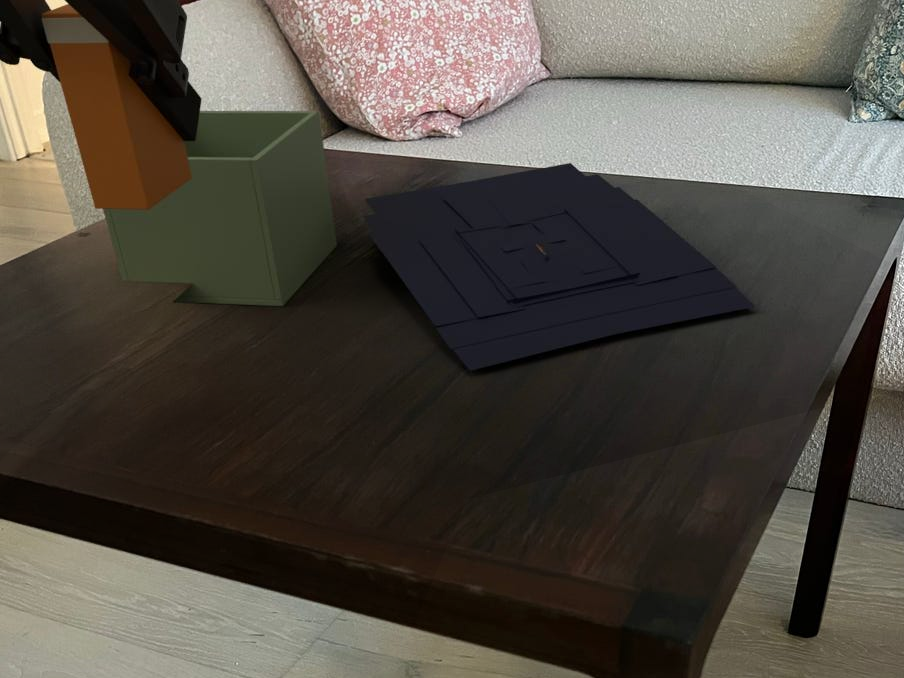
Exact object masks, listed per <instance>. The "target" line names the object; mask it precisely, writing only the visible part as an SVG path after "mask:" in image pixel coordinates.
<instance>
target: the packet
mask: <svg viewBox="0 0 904 678" xmlns="http://www.w3.org/2000/svg"><path fill="white" fill-rule="evenodd" d="M42 17H43V18H42V23H43V26H44V30H45V34H46V37H47V41H48V43H50V46H51V50H52V54H53V57H54V61H55V65H56V68H57V72H58V75H59V79H60V82H59V84H60V86H61V89H62V93H63V97H64V100H65V104H66V107H67V111H68V116H69V118H70V122H71V125H72V129H73V133H74V136H75V140H76V143H77V147H78V151H79V155H80V158H81V162H82V166H83V169H84V173H85V176H86V180H87V183H88V188H89V191H90V195H91V198H92V203H93V206H94V209H100V210H103V209H132V210H149V209H151V208H152V207H153V206H155V205H156V204H157V203H159V202H160V201H162V200H163V199H164V198H166V197H167V196H168V195H170V194H171V193H172V192H174V191H175V190H177V189H178V188H179V187H181V186H182V185H183V184H185V183H186V182H187V181H189V180H190V179H192V175H191V170H190V166H189V161H188V156H187V152H186V147H185V142H184V140H183V139H182V138H181V137H180V136H179V134H178V133H177V132H176V131H175V130H174V128H173V127H172V126H171V125H170V124H169V122H168V121H167V120H166V119H165V118H164V116H163V115H162V114H161V113H160V112H159V111H158V109H157V108H156V107H155V106H154V105H153V103H152V102H151V101H150V100H149V99H148V97H147V96H146V95H145V94H144V93H143V92H142V90H141V89H140V88H139V87H138V86H137V84H136V83H135V82H134V81H133V80H132V78H131V77H130V76H129V71H130V64H131V61H130V60H129V59H128V58H126V57H125V56H124V55H123V54H122V53H121V52H120V51H119V50H118V49H117V48H116V47H115V46H113V45H112V44H111V43H110V42H109V41H108V40H107V39H106V38H105V37H104V36H103V35H102V34H100V33H99V32H98V31H97V30H96V29H95V28H94V27H93V26H92V25H91V24H90V23H89V22H87V21H86V20H85V19H84V18H83V17H82V16H81V15H80V14H79V13H78V12H77V11H76V10H74V9H73V8H72V7H71V6H70V5H69V4H68V3H67V4H64V5H62V6H59V7H56V8H54V9H51V11H48V12H45V13H43V14H42Z"/></svg>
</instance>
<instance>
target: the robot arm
mask: <svg viewBox="0 0 904 678" xmlns="http://www.w3.org/2000/svg"><path fill="white" fill-rule="evenodd" d="M64 2H66V3H67V4H69V5H70V6H71V7H72V8H73V9H74V10H76V11H77V12H78V13H79V14H80V15H81V16H82V17H83V18H84V19H85V20H86V21H87V22H89V23H90V24H91V25H92V26H93V27H94V28H95V29H96V30H97V31H98V32H99V33H100V34H102V35H103V36H104V37H105V38H106V39H107V40H108V41H109V42H110V43H111V44H112V45H113V46H115V47H116V48H117V49H118V50H119V51H120V52H121V53H122V54H123V55H124V56H125V57H126V58H128V59H129V60H130V61H131V64H130V71H129V76H130V77H131V78H132V80H133V81H134V82H135V83H136V84H137V86H138V87H139V88H140V89H141V90H142V92H143V93H144V94H145V95H146V96H147V97H148V99H149V100H150V101H151V102H152V103H153V105H154V106H155V107H156V108H157V109H158V111H159V112H160V113H161V114H162V115H163V116H164V118H165V119H166V120H167V121H168V122H169V124H170V125H171V126H172V127H173V128H174V130H175V131H176V132H177V133H178V134H179V136H180V137H181V138H182V139H183V140H184V141H196V134H197V127H198V121H199V114H200V111H201V106H202V96H200V94H199V93H198V92H197V90H196V89H195V88H194V86H193V85H192V84H191V82H190V81H189V77H190V71H189V68H188V66H187V65H186V64H185V63H184V61H183V60H182V55H183V50H184V49H183V47H184V41H185V34H186V28H187V21H188V14H187V12H186V11H185V9H184V8H183V6H182V5H181V3H180V1H179V0H64ZM51 10H52V8H51V7H50V6H49V4H48V2H47V0H0V61H1V63H5V65H9V66H17V65H19V64H20V60H21V59H25V60H29V61H30V62H31V64H32V65H33V66H34V67H35V68H37V69H39V70H41V71H43V72H47V73H50V74H51V75H52V77H54V78H55V80H56V81H58V82H59V83H60V79H59V75H58V72H57V68H56V65H55V61H54V57H53V54H52V50H51V46H50V43H48V41H47V37H46V34H45V30H44V26H43V23H42V18H43V17H42V14H43V13H45V12H48V11H51Z"/></svg>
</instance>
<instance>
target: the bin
mask: <svg viewBox="0 0 904 678" xmlns="http://www.w3.org/2000/svg"><path fill="white" fill-rule="evenodd" d="M322 134H323V133H322V126H321V119H320V111H318V110H200V114H199V121H198V127H197V134H196V141H184V142H185V147H186V152H187V156H188V161H189V166H190V170H191V175H192V179H190V180H189V181H187V182H186V183H185V184H183V185H182V186H181V187H179V188H178V189H177V190H175V191H174V192H172V193H171V194H170V195H168V196H167V197H166V198H164V199H163V200H162V201H160V202H159V203H157V204H156V205H155V206H153V207H152V208H151V209H149V210H132V209H102V210H103V214H104V218H105V222H106V225H107V229H108V232H109V237H110V240H111V243H112V244H111V245H112V247H113V251H114V254H115V258H116V262H117V265H118V269H119V272H120V276H121V280H122V281H123V282H142V283H143V282H144V283H145V282H146V283H170V284H171V283H173V284H174V283H175V284H190V285H189V286H188V287H187V288H186V289H185V290H184V291H183V292H182V293H181V294H180V295H179V296H177V297H176V298H175V299H174V300H173V301H172V302H173V303H193V304H194V303H195V304H198V303H199V304H216V305H217V304H221V305H240V306H241V305H243V306H246V305H247V306H264V307H265V306H267V307H284V306H285V305H286V303H287V302H288V301H289V300H290V299H291V298H292V296H294V295H295V293H296V292H297V291H298V290H299V289H300V288H301V286H303V284H305V282H306V281H307V280H308V279H309V277H311V275H312V274H313V273H314V272H315V271H316V270H317V268H319V266H321V264H322V263H323V262H324V261H325V260H326V259H327V257H328V256H329V255H330V254H331V253H332V252H333V251H334V250H335V248H337V246H338V242H337V241H338V240H337V235H336V228H335V227H336V226H335V219H334V214H333V213H334V212H333V206H332V199H331V197H332V196H331V191H330V184H329V176H328V169H327V161H326V154H325V147H324V141H323V135H322Z"/></svg>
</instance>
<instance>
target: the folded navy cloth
mask: <svg viewBox="0 0 904 678" xmlns="http://www.w3.org/2000/svg"><path fill="white" fill-rule="evenodd" d="M364 200H365V202H366V203H367V205H368V206H369V207H370V209H371V211H372V212H373V214H367V215H362V218H363V219H364V221H365V222H366V224H367V225H368V227H369V228H370V229H371V231H372V232H368V234H369V236H370V237H371V238H372V240H373V242H374V243H375V245H376V246H377V248H378V249H379V251H380V253H382V254H383V256H384V257H385V258H386V260H387V262H389V264H390V265H391V267H392V268H393V270H394V271H395V273H397V275H398V276H399V278H400V279H401V281H402V282H403V283H404V285H405V286H406V288H407V289H408V290H409V291H410V293H411V295H412V296H413V297H414V298H415V300H416V301H417V303H418V304H419V305H420V307H421V308H422V310H423V311H424V312H425V314H426V315H427V316H428V318H429V320H430V321H431V322H432V326H434V328H435V329H436V331H437V332H438V333H439V335H440V336H441V338H442V339H443V340H444V342H445V344H446V345H447V346H448V348H449V349H450V350H452V351H453V352H454V354H456V355H457V357H458V358H459V359H460V361H462V363H463V364H464V365H465V367H466V368H467V369H468V370H469V371H475V370H478V369H482V368H486V367H490V366H495V365H498V364H503V363H507V362H510V361H514V360H518V359H522V358H526V357H527V358H528V357H530V356H535V355H537V354H542V353H546V352H550V351H554V350H557V349H562V348H566V347H570V346H574V345H578V344H582V343H586V342H590V341H593V340H598V339H601V338H605V337H609V336H613V335H617V334H623V333H628V332H633V331H639V330H643V329H649V328H653V327H654V328H655V327H659V326H663V325H669V324H674V323H679V322H685V321H689V320H694V319H695V320H696V319H700V318H705V317H710V316H715V315H720V314H726V313H732V312H735V311H740V310H747V309H751V308H755V307H756V306H755V305H754V303H752V301H750V300H749V298H747V297H746V296H745V295H744V294H743V293H742V292H741V291H740V290H739V289H737V288H736V287H737V286H736V285H735V284H734V282H732V281H731V280H730V279H729V278H728V276H726V275H725V274H724V273H723V272H722V271H721V270H719V269H718V268H717V266H716V265H715V264H714V263H713V262H712V261H710V260H709V259H708V258H707V257H705V255H704V254H702V253H701V252H700V251H699V250H698V249H696V248H695V247H694V246H693V245H691V244H690V243H689V242H688V241H687V240H686V239H685V238H683V237H682V236H681V235H680V234H679V233H677V232H676V231H675V230H674V229H673V228H671V226H669V225H668V224H667V223H666V222H664V221H663V220H662V219H661V218H660V217H658V216H657V215H656V214H655V213H654V212H653V211H652V210H650V208H649V207H647V206H645V205H644V204H643V203H642V202H641V201H640V200H638V198H636V199H634V198H633V197H632V196H631V195H630V194H628V192H626V191H625V190H624V189H622V188H621V187H620V186H617V187H614V185H612V184H611V183H610V182H608V181H607V180H606V179H604V177H602V176H601V175H599V174H598V173H596V174H589V175H585V174H584V173H582V172H581V171H580V170H579V169H578V168H577V167H576V166H575V165H574V164H572V163H571V162H568V163H563V164H557V165H552V166H547V167H541V168H535V169H529V170H525V171H518V172H513V173H508V174H503V175H496V176H491V177H486V178H480V179H475V180H469V181H463V182H457V183H452V184H451V183H450V184H445V185H440V186H434V187H426V188H421V189H415V190H410V191H404V192H397V193H392V194H386V195H379V196H374V197H369V198H368V197H367V198H364Z"/></svg>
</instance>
